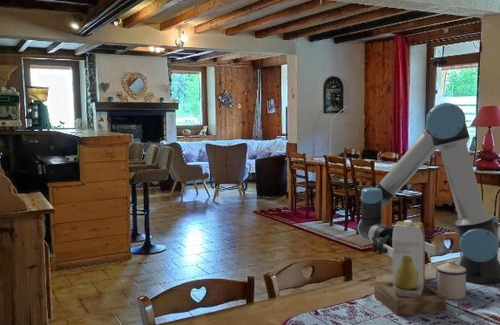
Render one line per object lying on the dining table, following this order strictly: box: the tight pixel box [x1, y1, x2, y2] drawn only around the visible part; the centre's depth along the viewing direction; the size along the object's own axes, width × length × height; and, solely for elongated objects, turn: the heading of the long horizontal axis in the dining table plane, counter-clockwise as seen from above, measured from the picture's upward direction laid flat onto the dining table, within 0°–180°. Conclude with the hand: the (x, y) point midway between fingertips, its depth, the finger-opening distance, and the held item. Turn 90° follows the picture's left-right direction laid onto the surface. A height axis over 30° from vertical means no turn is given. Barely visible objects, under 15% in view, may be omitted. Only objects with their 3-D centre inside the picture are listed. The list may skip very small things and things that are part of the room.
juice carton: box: [391, 219, 426, 298], centre depth 156 cm, size 9×8×24 cm
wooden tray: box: [373, 283, 447, 317], centre depth 157 cm, size 16×16×4 cm
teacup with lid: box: [435, 259, 467, 300], centre depth 164 cm, size 12×9×12 cm
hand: (414, 252), depth 152 cm, fingers open, 13 cm apart
